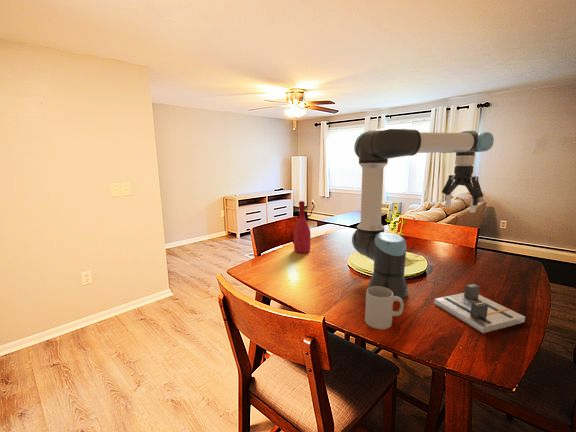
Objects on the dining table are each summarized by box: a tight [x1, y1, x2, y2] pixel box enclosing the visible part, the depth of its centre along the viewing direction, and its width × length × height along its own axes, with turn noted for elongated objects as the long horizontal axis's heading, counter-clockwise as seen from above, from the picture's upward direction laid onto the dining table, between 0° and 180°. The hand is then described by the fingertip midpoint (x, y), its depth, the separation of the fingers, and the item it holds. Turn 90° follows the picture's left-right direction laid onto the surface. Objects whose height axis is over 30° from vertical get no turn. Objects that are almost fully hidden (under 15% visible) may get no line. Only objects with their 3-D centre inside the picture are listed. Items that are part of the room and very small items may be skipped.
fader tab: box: [463, 283, 481, 299], centre depth 103 cm, size 4×2×5 cm, turn 107°
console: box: [433, 292, 526, 334], centre depth 97 cm, size 18×19×7 cm
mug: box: [364, 286, 405, 330], centre depth 92 cm, size 12×8×11 cm
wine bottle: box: [293, 200, 311, 254], centre depth 163 cm, size 10×10×30 cm
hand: (459, 209), depth 135 cm, fingers open, 13 cm apart
